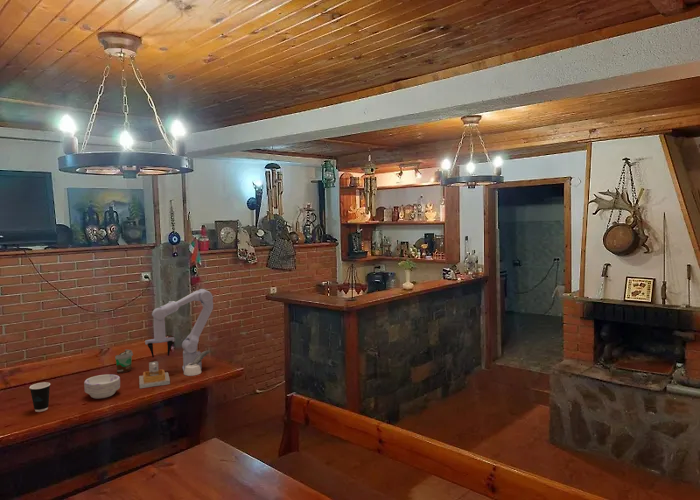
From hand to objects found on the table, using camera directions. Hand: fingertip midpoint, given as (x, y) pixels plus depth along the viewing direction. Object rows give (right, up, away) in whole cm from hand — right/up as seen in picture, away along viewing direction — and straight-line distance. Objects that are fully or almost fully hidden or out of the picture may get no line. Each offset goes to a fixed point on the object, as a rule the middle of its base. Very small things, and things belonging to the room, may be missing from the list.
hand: (160, 356), depth 269 cm
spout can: (+2, -8, -14) cm, 16 cm away
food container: (-21, -9, +7) cm, 24 cm away
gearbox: (+2, -11, -13) cm, 17 cm away
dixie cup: (-35, -14, -47) cm, 60 cm away
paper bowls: (-16, -12, -30) cm, 36 cm away
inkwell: (+19, -9, +4) cm, 22 cm away
